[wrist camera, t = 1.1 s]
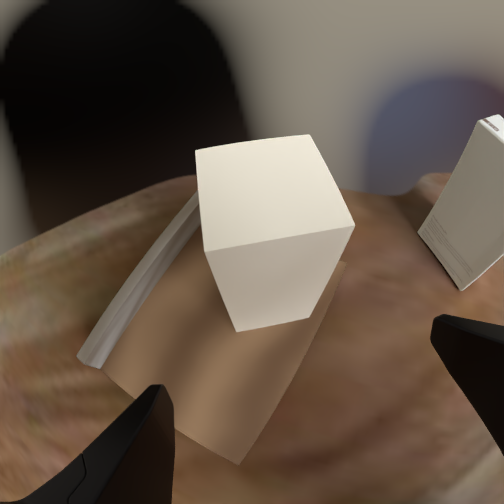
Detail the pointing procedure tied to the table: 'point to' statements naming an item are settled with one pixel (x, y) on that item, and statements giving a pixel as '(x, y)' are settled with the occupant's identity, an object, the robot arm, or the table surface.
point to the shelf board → (198, 343)
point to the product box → (270, 227)
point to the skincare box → (471, 208)
